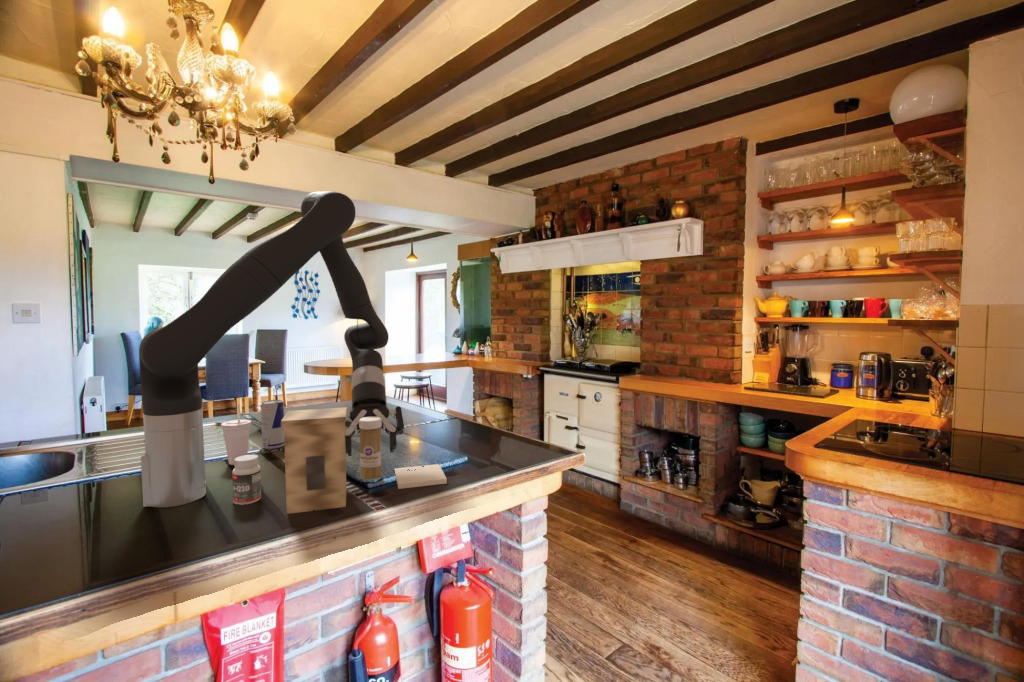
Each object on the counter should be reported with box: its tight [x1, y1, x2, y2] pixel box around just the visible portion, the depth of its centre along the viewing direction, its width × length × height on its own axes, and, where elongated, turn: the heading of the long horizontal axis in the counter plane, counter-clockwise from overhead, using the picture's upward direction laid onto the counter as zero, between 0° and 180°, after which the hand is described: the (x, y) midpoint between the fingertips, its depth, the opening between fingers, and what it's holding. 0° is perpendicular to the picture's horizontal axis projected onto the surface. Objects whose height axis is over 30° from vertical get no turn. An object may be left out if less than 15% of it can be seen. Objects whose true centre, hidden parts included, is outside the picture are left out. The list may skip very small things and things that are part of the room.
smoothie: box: [220, 403, 252, 466], centre depth 114 cm, size 6×6×14 cm
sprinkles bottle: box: [359, 417, 383, 479], centre depth 103 cm, size 5×5×14 cm
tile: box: [393, 463, 448, 490], centre depth 104 cm, size 10×10×1 cm
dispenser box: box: [281, 406, 348, 515], centre depth 91 cm, size 11×9×17 cm
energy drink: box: [260, 399, 285, 450], centre depth 128 cm, size 5×5×12 cm
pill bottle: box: [231, 454, 262, 506], centre depth 92 cm, size 5×5×8 cm
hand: (371, 452), depth 102 cm, fingers open, 8 cm apart
